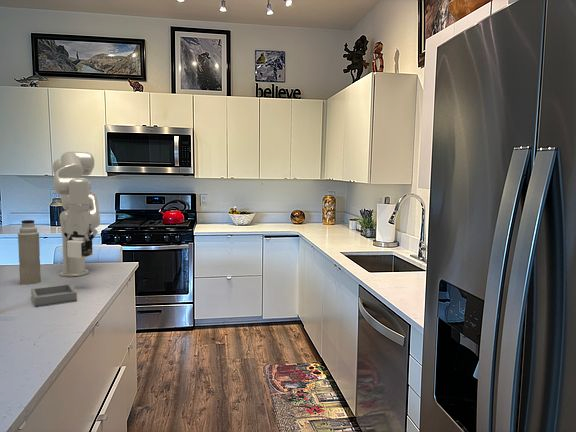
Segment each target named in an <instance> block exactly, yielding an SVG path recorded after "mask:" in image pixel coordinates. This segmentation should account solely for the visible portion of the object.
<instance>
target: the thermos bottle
mask: <svg viewBox="0 0 576 432" xmlns="http://www.w3.org/2000/svg"><path fill="white" fill-rule="evenodd" d="M17 243H18V263H19V268H18V269H19V283H20V284H22V285H33V284H37V283H40V282H41V280H42V279H41V278H42V277H41V275H42V274H41V259H40V256H41V255H40V254H41V253H40V232H39V231H38V227H36V226H35V220H33V219H31V220H30V219H27V220H25V219H24V220H21V227H20V228H19V232H18V233H17Z"/></svg>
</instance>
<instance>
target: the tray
mask: <svg viewBox="0 0 576 432" xmlns="http://www.w3.org/2000/svg"><path fill="white" fill-rule="evenodd" d="M30 295H31V300H32V302H33V305H34V307H35V308H39V307H45V306H53V305H59V304H67V303H73V302H78V296H77V295H78V292H77V291H76V289H74V287H73V286H72V285H71V284H70V283H68V284H60V285H51V286H43V287H35V288H31V289H30Z"/></svg>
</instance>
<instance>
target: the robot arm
mask: <svg viewBox="0 0 576 432" xmlns="http://www.w3.org/2000/svg"><path fill="white" fill-rule="evenodd" d="M94 167H95V157H94V155H93V154H92V153H90V152H86V151H65V152H64V153H62V155H61V156H60V158H59V159H56V160H54V162H53V164H52V171H53V179H52V180H53V188H54V191H55V193H56V195H57V194H58V195H60V199H61V205H62V208H63V209H64V210H63V211H61V212H60V213H59V222H60V227H61V237H62V239H61V240H62V265H63V266H62V269H63V270H61V271H60V272H59V275H60V277H73V278H74V277H80V276H85V275H87V274H89V273H90V271H89V269H88V268H86V257H85V258H71V257H68V256H67V241H69V240H73V239H72V234H73V231H77V232H78V235H84V236H85V238H86V240H87V241H85V246H86V250H89V249H91V247H92V248H93V240H94V238H95V237H96V236H97V235H98V233H99V232H98V230H97V229H96V228H98V227H99V226H100V224H101V216H100V209H99V203H98V197H97V195H96V194H95V193H94V192H92V191H91V189H92V184H91V181H89V179H88V178H85V177H86V176H88V177H89V176H90V175H91V174H92V172H93V171H94V169H95V168H94ZM83 176H84V177H83Z"/></svg>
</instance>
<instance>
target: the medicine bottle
mask: <svg viewBox="0 0 576 432" xmlns="http://www.w3.org/2000/svg"><path fill="white" fill-rule="evenodd" d="M72 239H73V240H69V241H67V256H68V257H71V258H85V259H86V258H88V257H91V256H93V254H94V253H93V246H92V247H91V249H89V250H86V246H85V241H87V240H86V238H85V236H84V235H78V232H77V231H73V234H72Z"/></svg>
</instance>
